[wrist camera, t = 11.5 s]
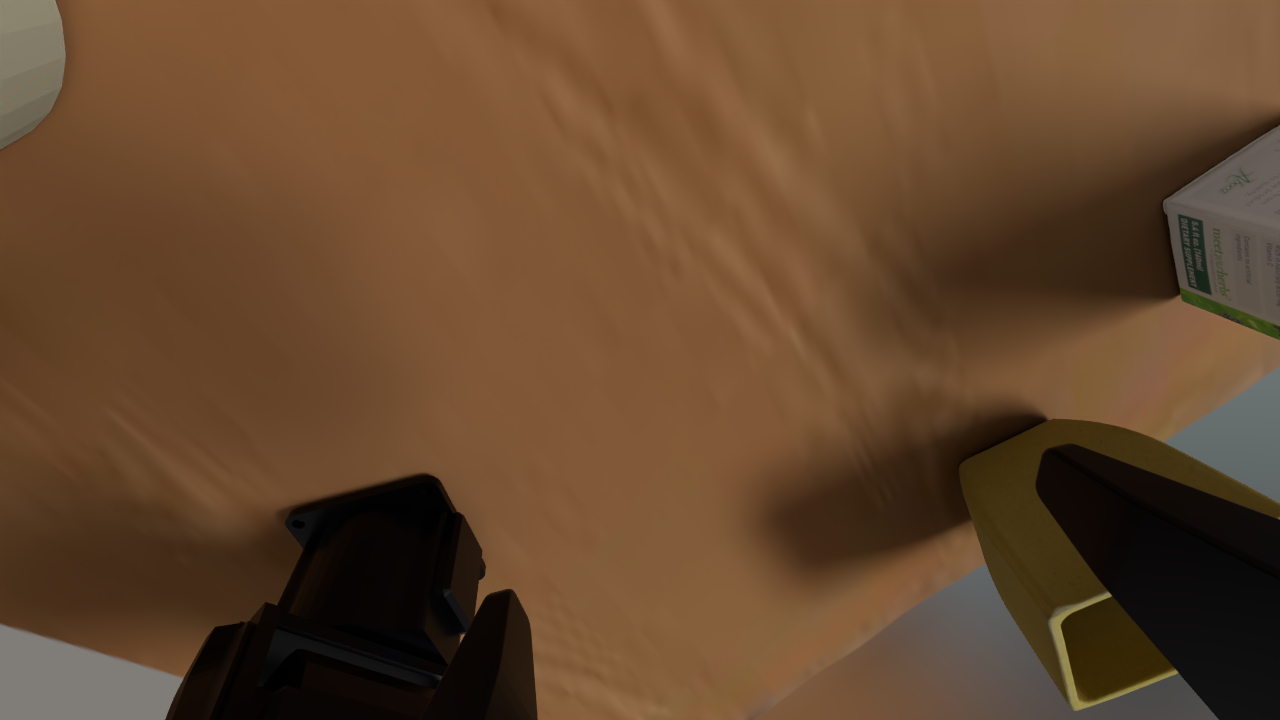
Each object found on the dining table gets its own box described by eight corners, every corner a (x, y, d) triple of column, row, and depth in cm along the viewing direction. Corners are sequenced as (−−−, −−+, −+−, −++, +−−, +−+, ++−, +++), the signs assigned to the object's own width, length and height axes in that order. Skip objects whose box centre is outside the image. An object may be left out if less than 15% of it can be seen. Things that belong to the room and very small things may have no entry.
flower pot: (947, 552, 32) (1074, 718, 24) (909, 456, 27) (1050, 621, 20) (1097, 482, 31) (1283, 632, 23) (1083, 369, 26) (1306, 509, 19)
